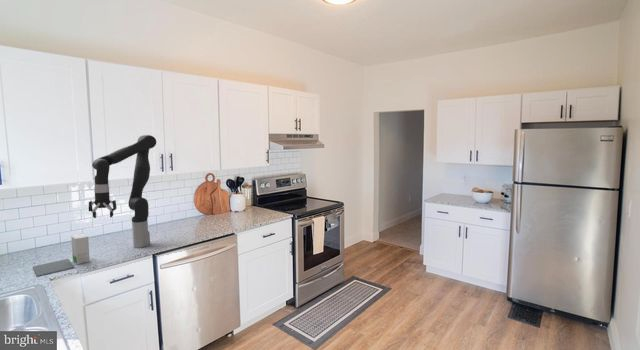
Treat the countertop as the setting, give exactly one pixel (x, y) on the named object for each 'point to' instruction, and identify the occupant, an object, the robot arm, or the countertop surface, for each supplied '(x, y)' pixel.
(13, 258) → the countertop surface
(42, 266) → the mat
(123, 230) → the countertop surface
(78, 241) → the skincare box
